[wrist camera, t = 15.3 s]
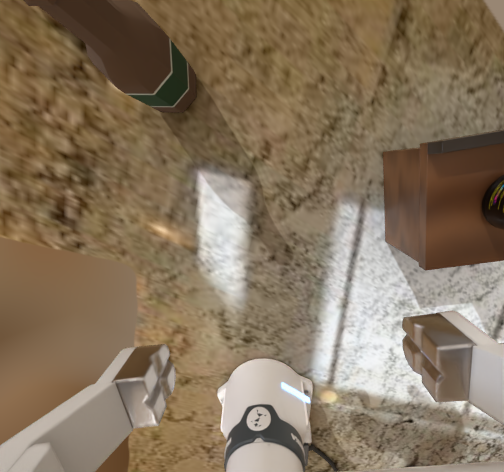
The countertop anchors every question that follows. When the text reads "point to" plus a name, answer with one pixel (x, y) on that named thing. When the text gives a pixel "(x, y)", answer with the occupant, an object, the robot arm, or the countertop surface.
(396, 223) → the wooden stand
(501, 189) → the supplement container
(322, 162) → the countertop surface
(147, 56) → the beer bottle
